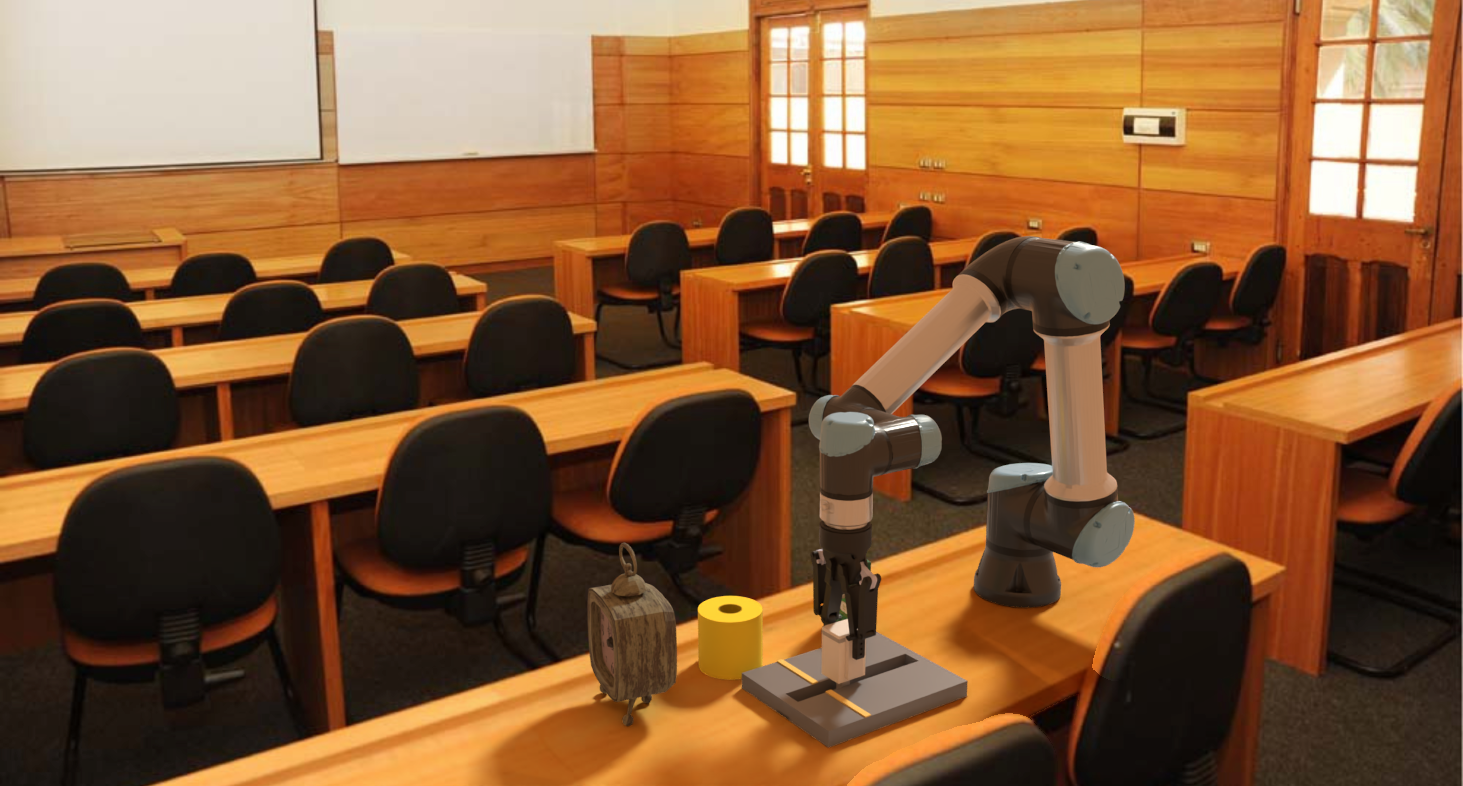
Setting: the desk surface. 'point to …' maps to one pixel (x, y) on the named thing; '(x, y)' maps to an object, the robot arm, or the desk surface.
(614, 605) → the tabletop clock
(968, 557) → the desk surface
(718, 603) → the yellow toilet paper roll
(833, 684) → the fader console
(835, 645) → the fader knob
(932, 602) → the desk surface
